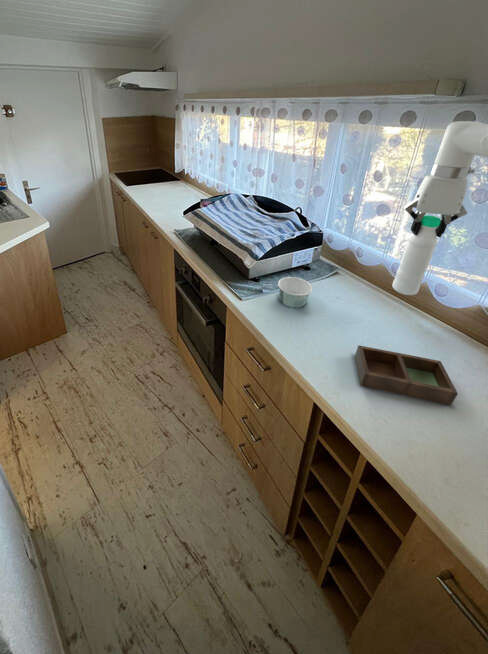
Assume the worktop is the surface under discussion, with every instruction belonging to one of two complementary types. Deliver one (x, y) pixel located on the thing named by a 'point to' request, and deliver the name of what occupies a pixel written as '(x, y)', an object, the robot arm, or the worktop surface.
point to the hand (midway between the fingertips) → (425, 233)
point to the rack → (404, 375)
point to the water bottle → (417, 257)
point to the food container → (294, 291)
